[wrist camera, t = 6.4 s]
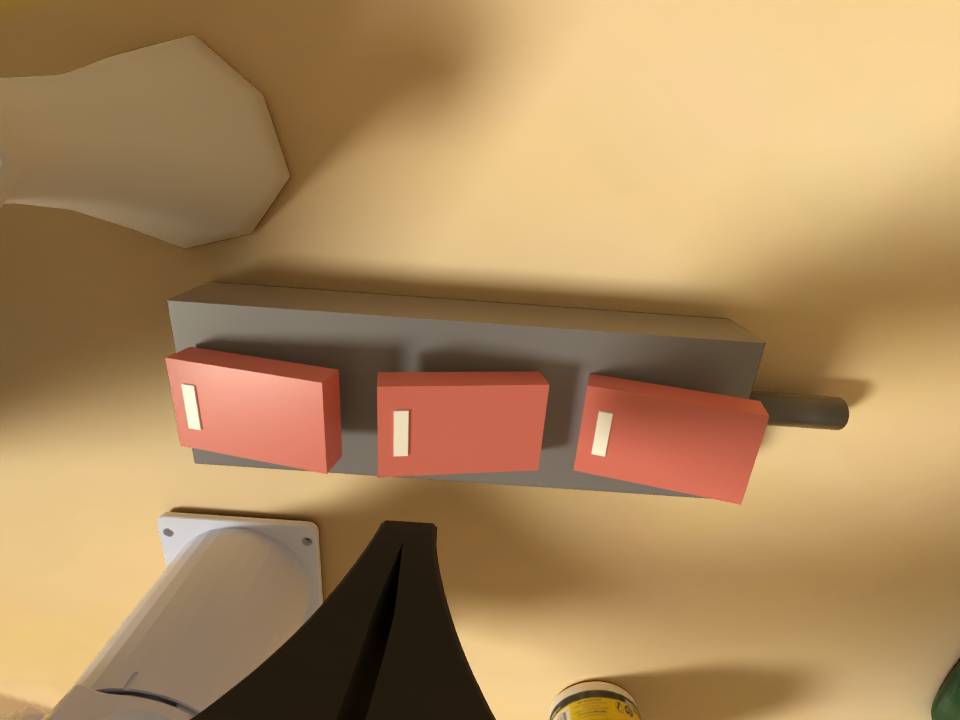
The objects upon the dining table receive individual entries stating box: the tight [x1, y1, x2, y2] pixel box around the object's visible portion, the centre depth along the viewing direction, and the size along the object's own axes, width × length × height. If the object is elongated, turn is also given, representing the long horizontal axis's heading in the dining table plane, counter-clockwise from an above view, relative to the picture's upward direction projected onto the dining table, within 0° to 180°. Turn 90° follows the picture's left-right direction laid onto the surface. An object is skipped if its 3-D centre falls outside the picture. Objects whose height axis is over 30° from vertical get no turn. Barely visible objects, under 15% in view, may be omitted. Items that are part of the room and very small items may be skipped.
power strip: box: [167, 282, 849, 499], centre depth 21 cm, size 7×27×3 cm, turn 86°
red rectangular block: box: [574, 373, 769, 505], centre depth 18 cm, size 4×6×1 cm, turn 86°
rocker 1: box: [165, 347, 342, 474], centre depth 18 cm, size 4×6×1 cm, turn 86°
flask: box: [0, 34, 290, 248], centre depth 15 cm, size 7×7×10 cm
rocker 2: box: [377, 371, 549, 477], centre depth 18 cm, size 4×6×1 cm, turn 86°
